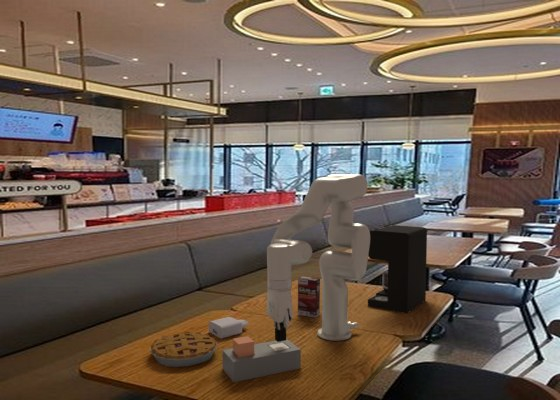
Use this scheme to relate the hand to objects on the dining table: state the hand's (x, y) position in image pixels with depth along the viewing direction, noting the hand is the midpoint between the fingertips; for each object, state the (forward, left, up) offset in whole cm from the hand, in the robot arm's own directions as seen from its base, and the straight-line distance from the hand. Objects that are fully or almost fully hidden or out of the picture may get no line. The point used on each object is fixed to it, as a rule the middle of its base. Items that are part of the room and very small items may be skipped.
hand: (280, 340), depth 145 cm
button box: (+7, 0, -8) cm, 10 cm away
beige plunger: (+1, 0, -8) cm, 8 cm away
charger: (+4, -35, -8) cm, 36 cm away
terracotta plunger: (+13, 0, -4) cm, 13 cm away
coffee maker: (-79, -38, -8) cm, 88 cm away
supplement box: (-32, -40, -8) cm, 52 cm away
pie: (+26, -21, -8) cm, 34 cm away
